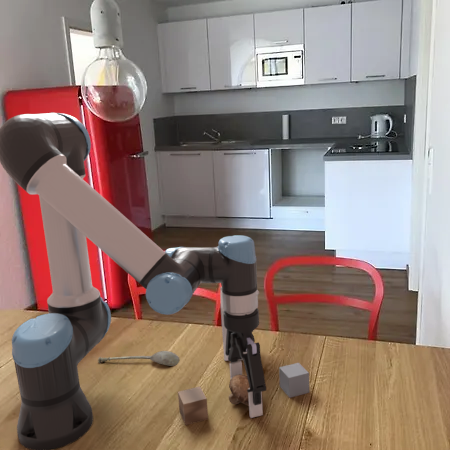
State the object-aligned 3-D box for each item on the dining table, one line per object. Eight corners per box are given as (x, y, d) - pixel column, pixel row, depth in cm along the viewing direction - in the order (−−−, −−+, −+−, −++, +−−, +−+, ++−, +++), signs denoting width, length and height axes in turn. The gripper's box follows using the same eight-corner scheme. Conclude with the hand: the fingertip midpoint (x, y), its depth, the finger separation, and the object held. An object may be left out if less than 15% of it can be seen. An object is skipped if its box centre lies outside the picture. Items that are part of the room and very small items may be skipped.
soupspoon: (177, 371, 125) (182, 359, 131) (177, 359, 124) (182, 348, 130) (95, 368, 127) (103, 357, 133) (94, 356, 126) (102, 345, 133)
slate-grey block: (289, 398, 109) (288, 377, 108) (279, 386, 113) (279, 367, 112) (309, 392, 110) (308, 372, 109) (299, 381, 115) (298, 362, 114)
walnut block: (185, 425, 101) (183, 404, 100) (179, 412, 106) (177, 391, 105) (208, 419, 103) (206, 398, 102) (201, 406, 108) (200, 386, 106)
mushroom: (214, 393, 106) (230, 371, 106) (230, 388, 113) (246, 367, 113) (240, 420, 103) (257, 397, 102) (255, 413, 110) (271, 391, 109)
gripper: (280, 326, 93) (284, 427, 99) (237, 288, 115) (243, 372, 120) (244, 334, 91) (250, 436, 96) (207, 293, 113) (214, 379, 118)
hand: (246, 401), depth 108 cm, fingers open, 11 cm apart
